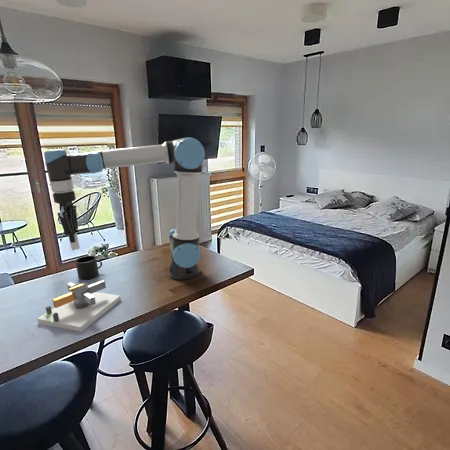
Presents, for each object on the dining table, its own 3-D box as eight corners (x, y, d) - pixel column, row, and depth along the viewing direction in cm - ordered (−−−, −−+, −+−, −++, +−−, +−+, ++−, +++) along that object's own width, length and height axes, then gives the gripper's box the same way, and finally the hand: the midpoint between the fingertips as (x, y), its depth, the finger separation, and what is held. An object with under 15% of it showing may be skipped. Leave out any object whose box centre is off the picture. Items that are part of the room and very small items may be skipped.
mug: (106, 274, 158) (103, 257, 155) (81, 282, 151) (78, 264, 148) (100, 269, 165) (97, 252, 162) (76, 275, 158) (73, 259, 155)
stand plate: (120, 299, 133) (119, 289, 131) (79, 333, 111) (76, 320, 110) (82, 294, 139) (80, 283, 138) (36, 324, 117) (33, 312, 116)
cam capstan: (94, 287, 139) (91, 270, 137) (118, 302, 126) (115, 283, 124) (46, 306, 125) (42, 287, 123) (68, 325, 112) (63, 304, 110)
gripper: (60, 189, 126) (72, 244, 133) (45, 195, 114) (59, 255, 121) (79, 187, 127) (90, 242, 134) (66, 193, 114) (79, 254, 121)
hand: (75, 248), depth 127 cm, fingers closed
